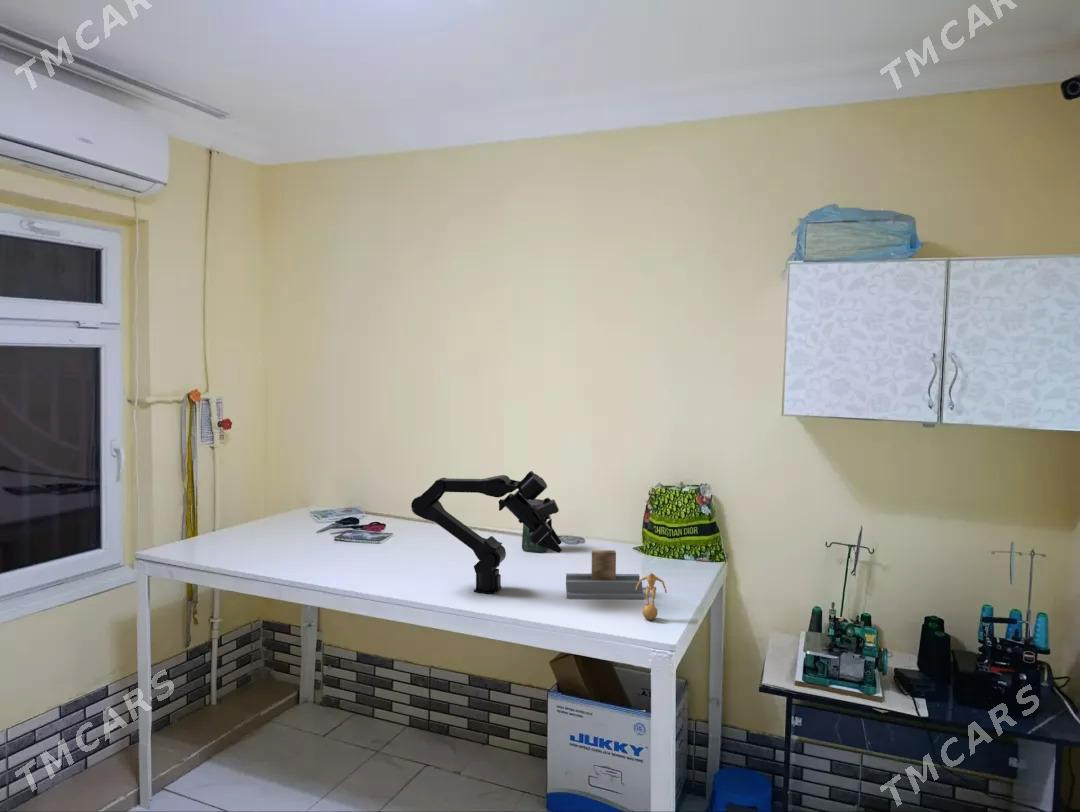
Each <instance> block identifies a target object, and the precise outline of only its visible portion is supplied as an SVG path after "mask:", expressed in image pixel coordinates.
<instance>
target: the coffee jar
mask: <svg viewBox="0 0 1080 812" xmlns="http://www.w3.org/2000/svg"><path fill="white" fill-rule="evenodd" d="M527 501H528V502H529V503H530V504H531V505H532V504H533V505H535V506H536V507H539V506H541V505H542V504H543V503H544V499H539V498H535V499H534V500H531V499H529V500H527ZM528 530H529V529H528V528H527V527H526V526H525V525H524V524H523V523H522V536H521V550H522V551H524V550H525V551H524V552H529V551H532V553H542V552H547V551H548V550H549V549H548V548H545V547H542V546H539V545H536V544H535V545H534V544H533V543H532V542H531V541H530V534H531V533H530V532H529V531H528ZM546 550H547V551H546Z"/></svg>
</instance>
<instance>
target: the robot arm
mask: <svg viewBox="0 0 1080 812" xmlns="http://www.w3.org/2000/svg"><path fill="white" fill-rule="evenodd" d="M547 488H548V484H547V483H546V481H545V480H544V478H543V477H540V475H538V474H536V473H534V471H533V470H531V471H530V470H529V471H528V473H527V474H526V475H525V477H523V478H522V479H521V480H514V479H511V478H510V477H509V475H505V474H502V475H501V474H500V475H495V476H491V477H490V476H489V477H485V478H450V477H449V478H447V477H441V478H439V479H436V480H435V481H434V482H433V483H432V485H430V487H428V488H427V490H425V491H424V492H423V493H422V494H421V495H419V496H417V497H414V499H413V500H412V502H411V505H410V507H411V511H412V513H413V514H414V515H416V516H418V517H419V518H422V519H424V520H425V521H430V522H434V523H436V524H437V525H439V526H440V527H441V528H442V529H444V530H445V531H446V532H447V533H449V534H451V535H452V536H454V537H455V539H458V541H460V542H461V543H462V544H464V545H465V546H467V547H468V548H470V549H471V550H472V552H473V553H474V555H475V557H476V558H477V559H478V562H477V563H475V564H474V565H473V569H474V572H475V588H474V589H473V592H474V593H482V594H483V593H484V594H490V595H492V594H493V595H494V594H496V593H497V592H498V591H499V590H501V589H502V585H501V581H502V580H501V577H502V575H501V574H500V568H498V567H500V565H501V563H502V562H503V561H504V560H505V559H506V556H507V552H506V549H505V547H504V545H503V542H500V541H499V540H497V539H496V538H495V537H494V536H493V535H490V536H489V537H488V538H485V537H482V536H480V534H478V533H477V532H476V531H474V530H472V529H471V528H470V527H468V526H467V525H466V524H464V523H463V522H462V521H460V520H459V519H458V518H456V517H454V516H453V515H452V514H451V513H449V512H448V511H446V509H445V508H444V507H443V505H442V502H441V501H440V500H441V498H442V497H443V496H444V495H445V493H476V494H478V493H479V494H483V495H485V496H488V497H494V498H500V499H499V500H498V511H500V512H501V511H502V510H503V509H504V508H506V509H508V511H510V512H511V513H512V514H513V516H514V517H516V518H517V520H518V523H520V524H522V525H523V524H524V525H525V526H526V527H527V528H528V529H529V530H528V531H529V532H530V533H531V534H530V541H531V542H532V543H533V544H534V545H535V544H536V545H539V546H542V547H545V548H548V550H551V551H553V552H556V553H558V554H560V553H561V552H562V548H561V547H560V545H561V544H562V540H561V539H560V537H559V536H558V534H557V533H556V531H555V529H554V528H553V526H552V518H551V516H552V515H553V514H555V515H556V514H557V513H558V512H559V506H558V505H557V502H556V499H550V497H546V498H544V499H543V500H544V503H543V504H542V505H541V506H539V507H536V506H535V505H533V504H532V505H531V504H530V503H529V502H528V501H527V500H529V499H531V500H534V499H537V498H538V497H539V496H540V495H541V494H543V492H544V491H545V490H547ZM516 490H517V491H516ZM514 491H516V492H515V493H513V492H514ZM507 494H508V495H507ZM506 495H507V496H506ZM504 496H506V497H505V498H504V499H503V498H502V497H504ZM501 498H502V499H501Z"/></svg>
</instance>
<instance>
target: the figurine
mask: <svg viewBox="0 0 1080 812" xmlns="http://www.w3.org/2000/svg"><path fill="white" fill-rule="evenodd" d="M646 580H647V582H648V583H647V584H648V585H646V586H645V590H646V591H645V596H646V604H645V605H644V606H643V608H642V610H641V611H642V612H641V613H642V615H643V618H644V619H646V620H649V621H652V620H655V619H656V618H657V616H658V613H659V612H658V609H657V607H656V606H655V599H656V593H657V586H655V584H656V581H659V582H660V583H662V587H663V589H664V593H665V594H667V591H668V590H667V587H666V585H665V582H664V580H663V579H661V578H659V577H658V576H656V575H655V574H654V573H652V572H650V573H649V575H646V576H644V577H641V578H640V580H639V582H638V584H637V586H636V589H635V590H637V587H638V585H639V584H640V582H641V581H642V582H643V581H646ZM650 593H651V594H652V596H651V597H652V603H650V596H649V594H650Z"/></svg>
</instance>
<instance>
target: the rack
mask: <svg viewBox="0 0 1080 812" xmlns="http://www.w3.org/2000/svg"><path fill="white" fill-rule="evenodd" d="M640 579H641V578H640V574H639V573H616V580H592V573H577V572H576V573H574V572H573V573H571V572H570V573H565V592H566V595H565V596H566V600H567V599H575V600H576V599H577V600H578V599H583V600H586V599H587V600H592V599H593V600H644V594H643V580H642V581H641V582H640V584H639V585H638V587H637V590H635V589H636V586H637V584H638V582H639V580H640Z"/></svg>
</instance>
